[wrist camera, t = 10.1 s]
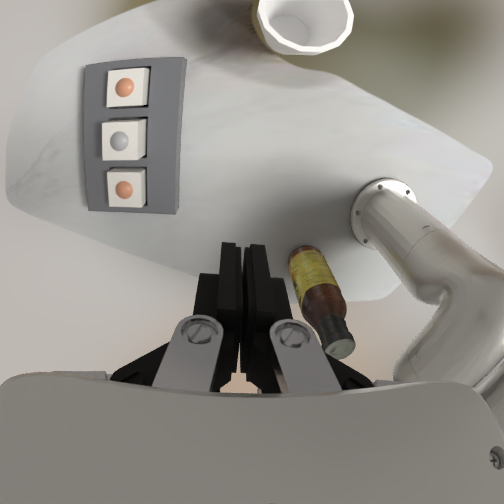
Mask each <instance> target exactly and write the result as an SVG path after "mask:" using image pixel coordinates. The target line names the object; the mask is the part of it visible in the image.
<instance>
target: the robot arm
mask: <svg viewBox="0 0 504 504" xmlns="http://www.w3.org/2000/svg"><path fill="white" fill-rule="evenodd" d="M378 185H379V186H378ZM356 211H357V212H356ZM351 227H352V230H353V233H354V234H355V236H356V238H357V239H358V240H359V242H360V243H361V244H363V245H364V246H366V247H368V248H370V249H374V250H378V251H379V252H380V253H381V255H382V256H383V257H384V259H385V260H386V261H387V263H388V264H389V265H390V266H391V268H392V269H393V270H394V272H395V273H396V275H397V276H398V277H399V279H400V280H401V281H402V283H403V284H404V285H405V287H406V288H407V289H408V291H409V292H410V293H411V295H412V296H413V297H415V298H416V299H417V300H419V301H421V302H423V303H425V304H429V305H435V306H440V307H439V308H438V310H437V311H436V312H435V314H434V315H433V317H432V319H431V320H430V321H429V322H428V323H427V325H426V326H425V327H424V328H423V329H422V331H421V332H420V333H419V334H418V335H417V336H416V337H415V339H414V340H413V341H412V342H411V343H410V344H409V345H408V347H407V348H406V349H405V350H404V351H403V352H402V353H401V355H400V356H399V357H398V359H397V361H396V363H395V365H394V368H393V380H394V381H386V380H376V381H375V382H374V383H372V382H371V381H370V380H369V379H368V378H367V377H365V376H364V375H362V374H360V373H359V372H357V371H355V370H354V369H352V368H350V367H349V366H347V365H345V364H344V363H342V362H340V361H339V360H337V359H335V358H334V357H332V356H330V355H329V354H327V353H325V352H324V351H323V349H322V347H321V345H320V344H319V341H318V339H317V337H316V335H315V333H314V331H313V330H312V329H311V327H309V326H308V325H307V324H305V323H303V322H301V321H298V320H294V319H293V317H292V313H291V308H290V304H289V300H288V295H287V291H286V287H285V283H284V279H283V278H271V277H270V272H269V266H268V261H267V255H266V249H265V245H257V244H251V245H250V248H249V247H245V251H244V260H243V270H242V266H241V247H236V243H228V242H222V247H221V259H220V271H219V274H206V273H200V275H199V281H198V287H197V293H196V299H195V305H194V311H193V315H192V316H189V317H186V318H184V319H183V320H181V321H180V322H179V324H178V325H177V327H176V329H175V331H174V334H173V336H172V338H171V341H170V342H168V343H166V344H164V345H163V346H161V347H159V348H157V349H155V350H153V351H151V352H150V353H148V354H146V355H144V356H142V357H140V358H138V359H137V360H135V361H133V362H131V363H129V364H127V365H125V366H123V367H122V368H120V369H118V370H117V371H115V372H114V373H113V374H106V372H105V371H87V372H83V371H81V372H80V371H78V372H76V371H75V372H73V371H53V372H34V373H25V374H21V375H17V376H14V377H11V378H9V379H8V380H6V381H5V382H4V383H3V384H2V385H1V386H0V504H504V362H503V363H502V364H501V365H500V367H499V368H498V369H497V370H496V371H495V372H494V373H493V374H492V375H491V376H490V377H489V378H488V379H487V380H486V381H485V382H484V383H483V384H482V385H481V386H480V387H479V388H477V389H473V388H474V387H475V386H476V385H477V384H478V383H479V382H480V381H481V380H482V379H483V378H484V377H485V376H487V375H488V374H489V373H490V372H491V371H492V370H493V369H494V367H495V366H496V365H497V364H498V363H499V362H500V361H501V360H502V359H503V358H504V270H503V269H501V268H500V267H498V266H497V265H495V264H494V263H492V262H490V261H489V260H487V259H486V258H485V257H483V256H482V255H480V254H479V253H478V252H476V251H475V250H474V249H472V248H471V247H470V246H469V245H468V244H466V243H465V242H464V241H462V240H461V239H460V238H459V237H458V236H457V235H455V234H454V233H453V232H452V231H450V230H449V229H448V228H447V227H446V226H445V225H443V224H442V223H441V222H440V221H438V220H437V219H436V218H435V217H433V216H432V215H431V214H429V213H428V212H427V211H426V210H424V209H423V208H422V207H420V206H419V205H418V204H417V199H416V197H415V194H414V193H413V191H412V190H411V189H410V188H409V187H408V186H407V185H406V184H405V183H403V182H401V181H399V180H396V179H392V178H385V179H380V180H377V181H375V182H373V183H371V184H370V185H368V186H367V187H365V188H364V189H363V190H362V191H361V193H360V194H359V195H358V197H357V198H356V200H355V202H354V204H353V207H352V211H351ZM239 343H240V368H241V369H240V370H241V373H246V381H247V382H248V381H249V382H252V383H253V384H254V385H256V386H257V387H258V390H257V391H258V394H248V393H247V394H246V393H220V388H221V387H222V386H224V385H225V384H227V383H228V382H229V381H231V373H236V369H237V359H238V352H239Z"/></svg>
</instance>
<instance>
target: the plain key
mask: <svg viewBox="0 0 504 504" xmlns="http://www.w3.org/2000/svg"><path fill="white" fill-rule="evenodd" d="M146 139H147V119H122V120H112V121H108V122H104V123H102V158H103V160H138V159H140V158H141V157H143V156H144V155H145V154H146Z"/></svg>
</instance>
